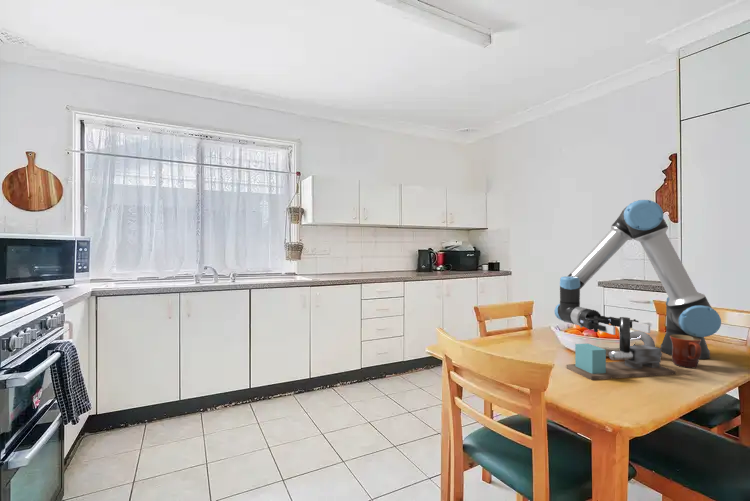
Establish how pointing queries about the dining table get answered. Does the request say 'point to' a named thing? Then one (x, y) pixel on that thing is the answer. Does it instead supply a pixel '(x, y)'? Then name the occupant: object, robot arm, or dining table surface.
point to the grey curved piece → (643, 337)
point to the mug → (685, 350)
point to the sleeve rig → (631, 365)
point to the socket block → (590, 358)
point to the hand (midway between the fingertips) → (632, 329)
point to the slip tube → (623, 342)
